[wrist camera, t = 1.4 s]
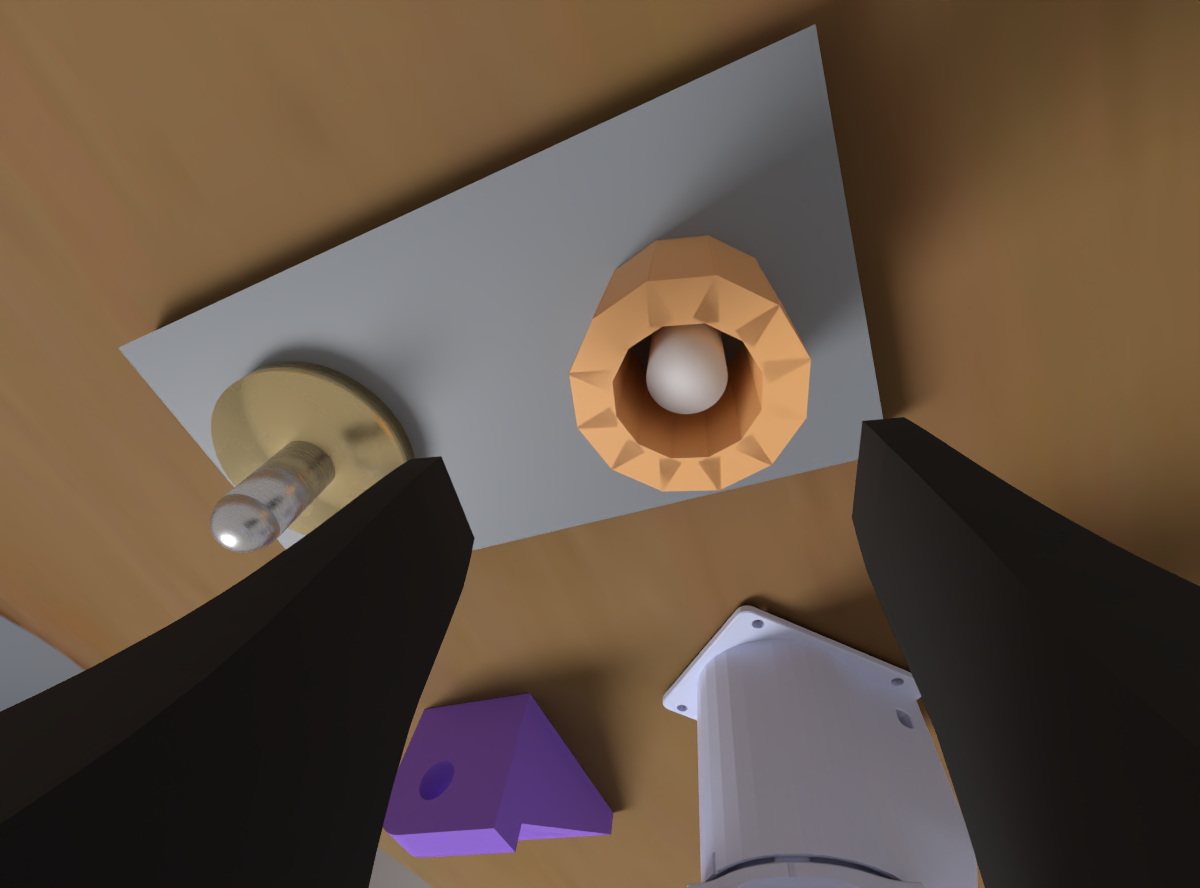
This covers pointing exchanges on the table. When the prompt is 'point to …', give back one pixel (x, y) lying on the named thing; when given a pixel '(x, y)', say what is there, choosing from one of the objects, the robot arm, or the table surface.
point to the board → (565, 298)
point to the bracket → (490, 782)
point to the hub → (297, 450)
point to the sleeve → (755, 376)
